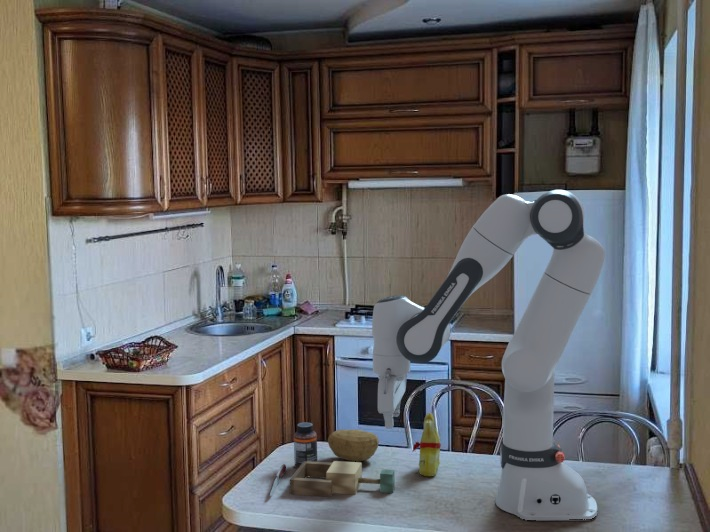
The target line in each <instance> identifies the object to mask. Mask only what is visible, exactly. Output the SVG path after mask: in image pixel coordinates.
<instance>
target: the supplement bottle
mask: <svg viewBox="0 0 710 532" xmlns="http://www.w3.org/2000/svg"><path fill="white" fill-rule="evenodd" d="M313 428H314V424H313V423H311V422H309V421H308V422H305V421H304V422H299V423H298V424H297V427H296V431H295V432H294V434H293V447H294V449H293V450H294V451H293V454H294V456H293V458H294V467H295V468H296V470H297V469H298V468H299V467H300V466H301V464H302V463H303V462H304V461H312V462H318V438H317V437H318V435H317V432H316V431H315V430H314V429H313Z"/></svg>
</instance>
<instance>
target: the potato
mask: <svg viewBox="0 0 710 532" xmlns="http://www.w3.org/2000/svg"><path fill="white" fill-rule="evenodd" d="M379 442H380V440H379V438H378V436H377V435H376V434H375V433H373V432H370V431H366V430H365V431H364V430H361V429H338V430H335V431H333V432H332V433H330V434H329V436H328V438H327V443H328V447H329V448H330V450H331V451H332V453H333V454H334V455H335V456H336V457H337V458H340V459H342V460H346V461H348V462H355V461H356V462H363V461H364V462H365V461H367V460H369V459H371V458H372V457H373V456H374V455H375V453H376V452H377V449H378V447H379Z"/></svg>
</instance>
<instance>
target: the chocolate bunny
mask: <svg viewBox="0 0 710 532" xmlns="http://www.w3.org/2000/svg"><path fill="white" fill-rule="evenodd" d="M423 420H424V421H423V431H422V434H421V437H420V442H418V441H416V442H415V443H414V444H413V450H412V452H415V451H416V450H417V449H418V448H419V461H418V468H419V474H420V475H421V476H424V477H433V476H436V474H437V472H438V469H439V467H440V462H441V461H440V453H441V444H442V443H441V442H440V439H441V438H440V435H439V430H438V428H437V426H436V420H435V417H434V415H433V413H427V414H425V417H424V419H423Z"/></svg>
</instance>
